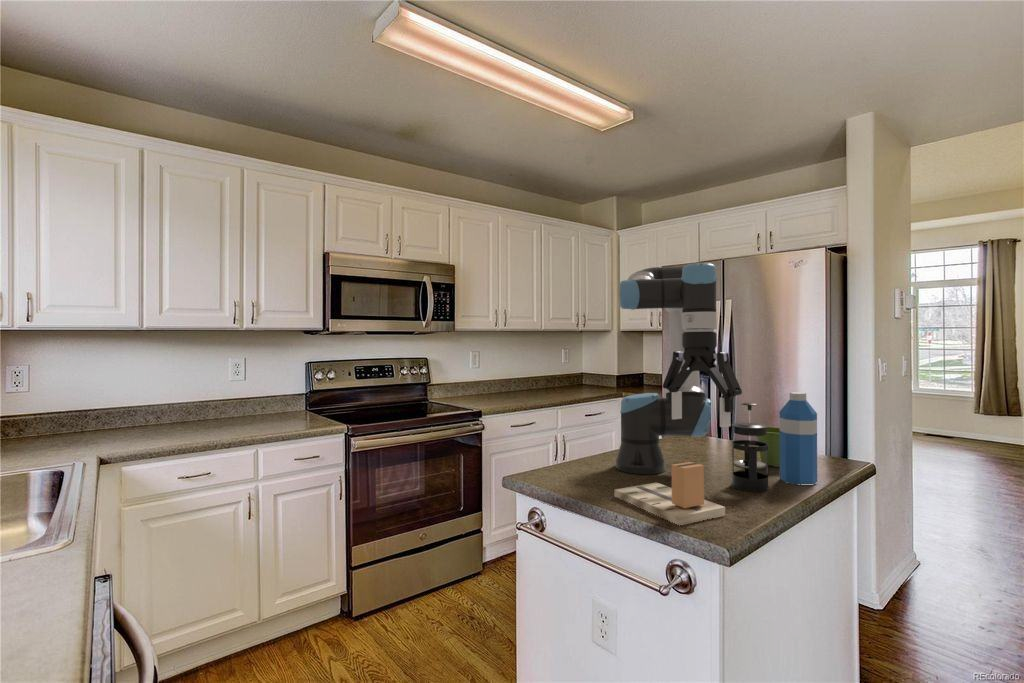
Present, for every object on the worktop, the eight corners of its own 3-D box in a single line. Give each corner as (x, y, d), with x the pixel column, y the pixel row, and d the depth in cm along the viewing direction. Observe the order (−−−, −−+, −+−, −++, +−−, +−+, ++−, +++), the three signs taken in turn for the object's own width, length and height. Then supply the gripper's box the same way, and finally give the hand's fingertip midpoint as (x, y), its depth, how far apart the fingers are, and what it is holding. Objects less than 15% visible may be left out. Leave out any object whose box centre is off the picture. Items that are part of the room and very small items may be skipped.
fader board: (614, 497, 134) (614, 489, 134) (656, 489, 140) (656, 482, 140) (679, 525, 113) (679, 516, 113) (725, 515, 120) (725, 506, 120)
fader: (671, 503, 121) (671, 463, 121) (691, 499, 124) (690, 460, 124) (684, 508, 117) (684, 467, 117) (704, 504, 120) (703, 464, 120)
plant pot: (780, 471, 158) (779, 434, 158) (745, 463, 169) (745, 428, 169) (803, 466, 164) (803, 430, 164) (769, 458, 175) (768, 425, 174)
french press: (729, 480, 149) (729, 400, 149) (765, 483, 146) (765, 401, 146) (733, 492, 138) (733, 405, 137) (773, 495, 135) (772, 406, 135)
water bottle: (772, 478, 150) (771, 392, 150) (796, 475, 153) (795, 390, 153) (800, 487, 141) (800, 395, 141) (825, 483, 145) (824, 393, 144)
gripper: (647, 331, 129) (648, 417, 129) (736, 329, 108) (737, 432, 108) (669, 331, 133) (669, 414, 133) (758, 330, 112) (759, 428, 112)
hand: (699, 422), depth 121 cm, fingers open, 13 cm apart
